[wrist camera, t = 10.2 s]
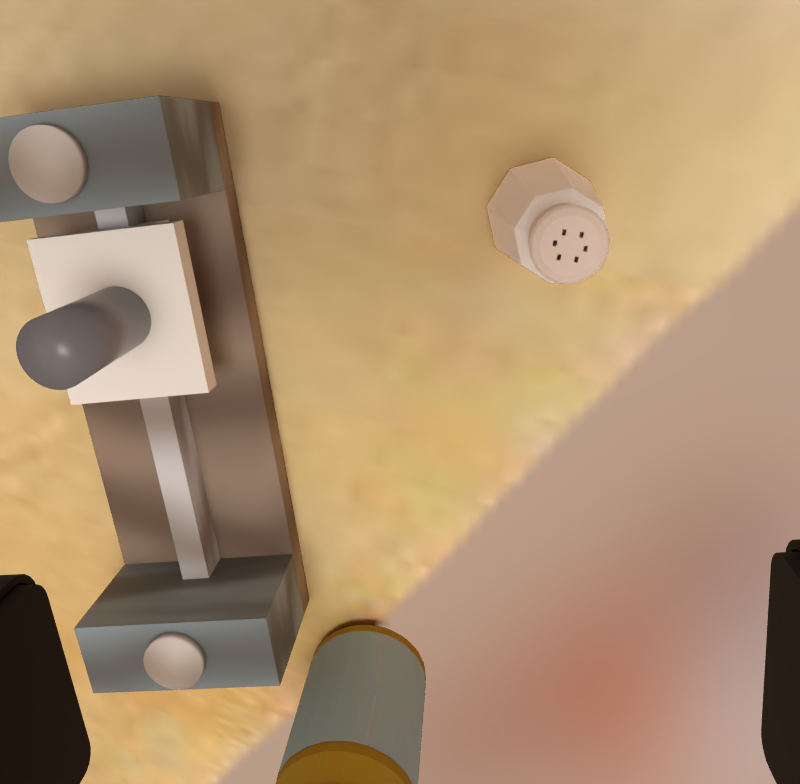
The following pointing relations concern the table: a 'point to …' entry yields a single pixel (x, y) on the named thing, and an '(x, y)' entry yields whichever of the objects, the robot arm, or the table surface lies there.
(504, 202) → the pepper shaker
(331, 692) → the bottle
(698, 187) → the table surface
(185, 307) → the carriage
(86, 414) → the rail track
